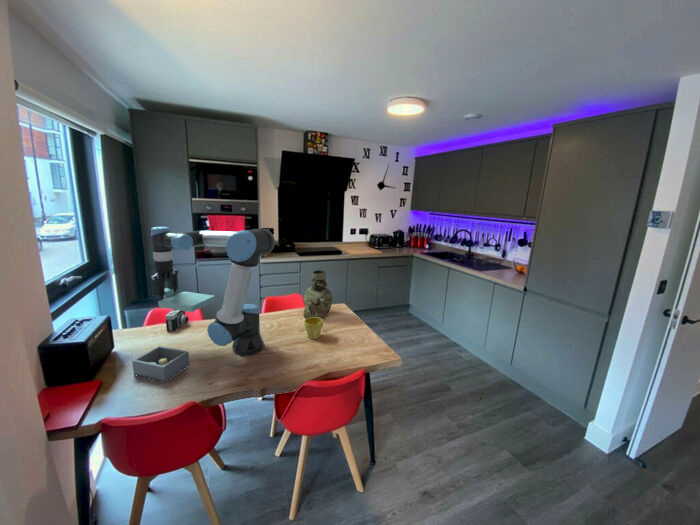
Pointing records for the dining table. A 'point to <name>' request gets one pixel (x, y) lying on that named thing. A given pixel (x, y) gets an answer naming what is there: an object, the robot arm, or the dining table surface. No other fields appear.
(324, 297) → the ceramic vessel
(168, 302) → the lid
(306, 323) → the plant pot
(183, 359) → the tub
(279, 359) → the dining table surface
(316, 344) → the dining table surface
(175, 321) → the camera
